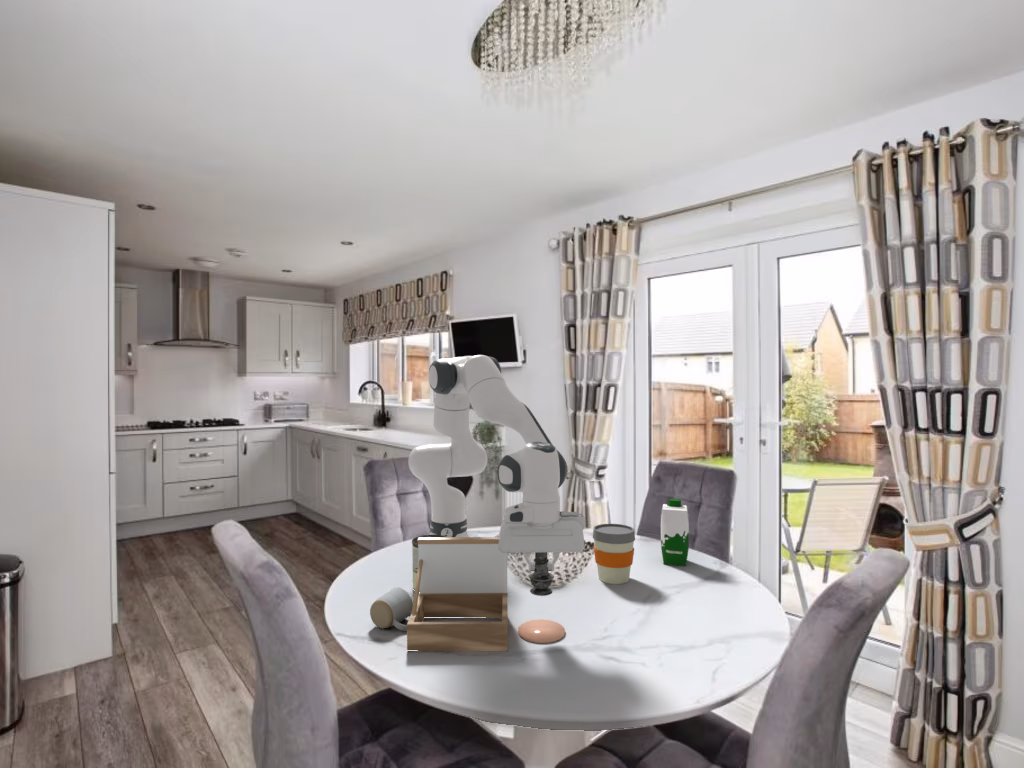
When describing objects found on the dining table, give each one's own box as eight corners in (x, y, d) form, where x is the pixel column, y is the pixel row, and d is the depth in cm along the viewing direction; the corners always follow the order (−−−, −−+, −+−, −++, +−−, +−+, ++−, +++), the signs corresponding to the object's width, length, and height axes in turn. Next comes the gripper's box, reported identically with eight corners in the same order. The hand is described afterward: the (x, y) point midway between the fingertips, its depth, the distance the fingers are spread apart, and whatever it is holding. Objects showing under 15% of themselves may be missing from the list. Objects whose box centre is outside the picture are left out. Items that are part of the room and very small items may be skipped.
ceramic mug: (367, 627, 132) (367, 595, 132) (388, 614, 139) (389, 584, 139) (403, 637, 127) (403, 604, 127) (423, 623, 135) (424, 591, 135)
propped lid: (420, 594, 138) (420, 534, 138) (507, 593, 139) (507, 534, 139) (410, 617, 125) (410, 551, 124) (507, 617, 125) (507, 551, 125)
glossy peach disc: (517, 622, 135) (517, 619, 135) (562, 621, 135) (562, 619, 135) (518, 643, 124) (518, 640, 124) (567, 643, 124) (567, 640, 124)
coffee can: (417, 581, 163) (417, 533, 163) (451, 582, 162) (451, 534, 162) (407, 594, 152) (407, 544, 152) (443, 596, 151) (443, 545, 151)
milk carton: (688, 558, 183) (688, 498, 183) (689, 567, 174) (688, 504, 174) (661, 556, 186) (661, 497, 185) (660, 565, 177) (660, 503, 177)
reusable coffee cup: (639, 586, 158) (639, 534, 158) (595, 586, 158) (595, 534, 158) (630, 571, 171) (630, 523, 171) (590, 571, 171) (590, 523, 171)
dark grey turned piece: (538, 584, 133) (538, 535, 133) (558, 590, 130) (558, 540, 130) (523, 592, 129) (523, 541, 129) (543, 598, 125) (543, 545, 125)
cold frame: (419, 616, 138) (419, 592, 138) (507, 616, 138) (507, 592, 138) (407, 651, 120) (407, 624, 120) (507, 651, 120) (507, 623, 120)
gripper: (583, 508, 133) (583, 565, 133) (498, 508, 132) (498, 566, 132) (587, 514, 126) (587, 574, 126) (498, 515, 126) (498, 575, 126)
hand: (541, 570), depth 129 cm, fingers closed on dark grey turned piece, 3 cm apart
